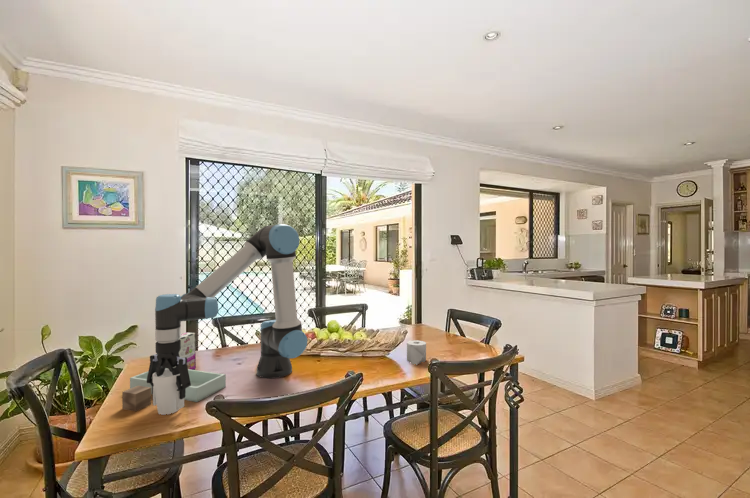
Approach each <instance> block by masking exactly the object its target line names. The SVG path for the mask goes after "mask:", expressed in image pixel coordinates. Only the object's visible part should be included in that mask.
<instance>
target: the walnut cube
mask: <svg viewBox="0 0 750 498" xmlns="http://www.w3.org/2000/svg"><path fill="white" fill-rule="evenodd" d="M121 394H122V395H121V396H122V397H121V398H122V400H121V401H122V405H121V407H122V410H127V411H131V412H137V411H140V410H142V409H143V408H144V409H145V408H146V407H148V406H150V405H152V394H151V387H144V386H136V387H133V388H131V389H130V388H128V389H126V390H124V391H122V392H121Z"/></svg>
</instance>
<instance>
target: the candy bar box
mask: <svg viewBox="0 0 750 498" xmlns="http://www.w3.org/2000/svg"><path fill="white" fill-rule="evenodd" d="M180 340H181V350H180V351H179V356H180V357H181V358H185V357H187V368H188V369H191V370H196V369H197V366H196V365H197V363H196V362H197V359H196V332H184V333H182V334H181V338H180ZM175 367H176V366H175Z"/></svg>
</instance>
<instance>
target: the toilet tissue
mask: <svg viewBox="0 0 750 498" xmlns="http://www.w3.org/2000/svg"><path fill="white" fill-rule="evenodd" d="M406 361H407V362H409V363H410V362H411V363H410V364H412V365H414V364H416V365H415V366H417V365H418V364H422V363H421V362H423V363H426V362H425V361H427V342H426V341H423V340H418V339H416V340H408V341H407V342H406Z"/></svg>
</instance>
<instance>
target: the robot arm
mask: <svg viewBox="0 0 750 498" xmlns="http://www.w3.org/2000/svg"><path fill="white" fill-rule="evenodd" d="M299 245H300V236H299V233H298V231H297V230H296V229H295V228H294V227H292V226H291V225H289V224H284V223H282V224H281V223H278V224H269V225H266V226H263V227H262V228H260V229H259V230H258V231H256V232H255V233H254V234H253V235H252V236H251V237H249V238H248V239H247V240H246V241H245V242H244V245H243V246H242V248H240V249H238V251H237V252H236V253H234V254H233V255H232V256H231V257H230V258H228V259H227V260H226V261H225V262H223V264H221V265H220V266H219V267H218V268H217V269H215V270H214V271H213V272H212V273H210V274H209V275H208V276H207V277H206V278H204V279H203V280H202V281H201V282H199V283H198V284H197V285H196V286H195V287H194V288H193V289H192V290H190V291H189V292H186V293H183V294H182V295H180V294H177V293H167V294H159V295H158V296H156V298H155V306H154V307H155V308H154V312H155V313H154V315H155V318H154V319H155V321H154V322H155V339H154V340H155V341H156V342H155V353H154V354H152V355H150V356H149V368H148V376H147V383H150V384H151V386H152V394H153V395H152V394H151V395H152V406H154V407H155V406H157V403H156V397H155V391H154V384H153V373H155V372H157V377H159V376H161V375H163V373H164V370H165V368H167V369H169V371H170V372H172V375H177V374H180V375H179V376H176V385H177V387H178V389H177V390H176V410H178V411H179V410H180V409H182V408H184V407H185V400H184V398H185V396H186V395H185V393H186V388H187V387H189V386H191V383H190V378H189V373H188V368H187V357H185V358H181V357H180V356H179V351H180V350H181V340H180V338H181V330H182V329H181V327H182V325H181V323H182V322H186V321H196V320H197V321H198V320H208V319H213V318H216V317H217V315H218V314H219V313H218V312H219V303H218V300H217V298H216V296H217V295H218V294H220V293H221V292H222V291H223V290H224V289H225V288H226V287H227V286H229V285H230V284H231V283H232V282H233V281H234V280H235V279H237V277H239V276H240V275H241V274H242V273H244V272H245V271H246V270H247V269H248V268H250V266H252V265H253V264H254V263H255V262H256V261H258V260H261V259H264V258H265V257H266V260H267V261H268V262H269V263H270V267H271V280H272V290H273V301H274V311H275V312H274V313H275V319H271V320H265V321H262V323H260V328H259V330H260V357H259V361H258V363H257V366H256V375H257V377H260V378H263V379H277V378H282V377H286V376H288V375H291V373H292V371H293V366H292V361H291V359H295V358H298V357H299V356H301V355H302V354H303V353H304V351H305V350H306V348H307V347H308V337H307V335H306V334H305V332H304V331H303V328H302V320H300V318H299V319H298V312H297V311H298V310H297V300H296V288H295V287H296V286H295V273H294V263H293V261H294V259H296V258H297V249H298V247H299ZM175 366H176V367H175ZM173 367H175V368H173ZM181 384H182V386H181Z"/></svg>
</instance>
